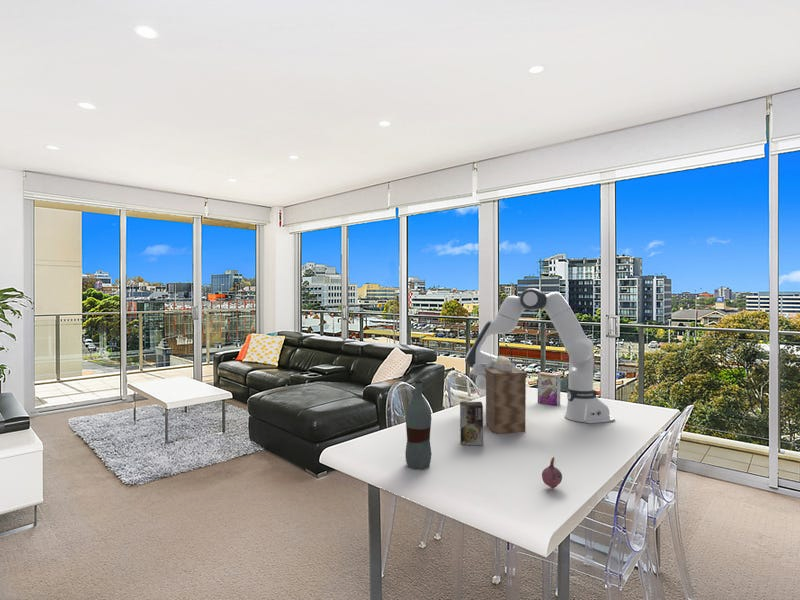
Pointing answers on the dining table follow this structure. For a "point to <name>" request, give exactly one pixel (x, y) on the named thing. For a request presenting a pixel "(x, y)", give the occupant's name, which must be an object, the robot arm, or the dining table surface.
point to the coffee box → (471, 423)
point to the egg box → (502, 364)
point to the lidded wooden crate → (505, 400)
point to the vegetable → (551, 475)
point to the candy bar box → (549, 388)
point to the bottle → (418, 431)
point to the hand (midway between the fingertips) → (498, 362)
